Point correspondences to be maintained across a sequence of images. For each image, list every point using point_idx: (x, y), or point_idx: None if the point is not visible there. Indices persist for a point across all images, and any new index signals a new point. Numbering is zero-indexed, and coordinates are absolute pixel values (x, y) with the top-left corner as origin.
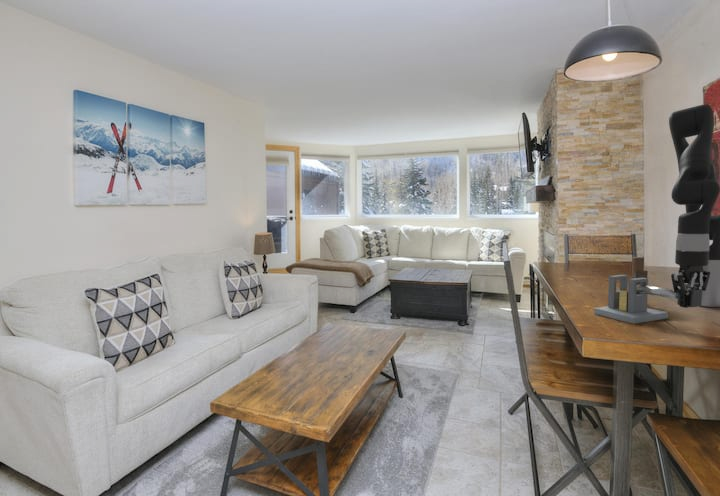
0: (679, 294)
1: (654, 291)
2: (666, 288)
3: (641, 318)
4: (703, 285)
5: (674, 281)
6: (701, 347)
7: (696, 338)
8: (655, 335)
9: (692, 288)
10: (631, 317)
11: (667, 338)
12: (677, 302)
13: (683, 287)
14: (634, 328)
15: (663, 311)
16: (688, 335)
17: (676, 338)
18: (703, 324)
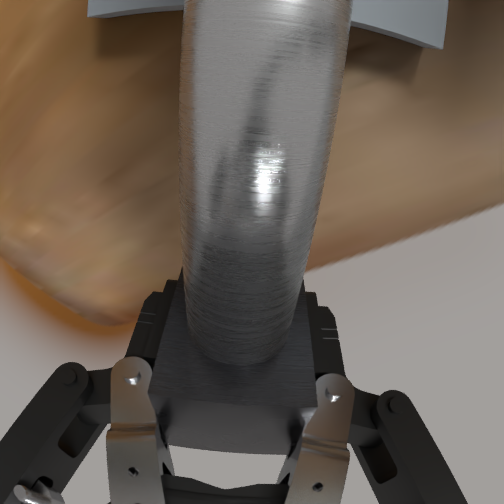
0: (163, 344)
1: (183, 29)
2: (258, 197)
3: (164, 8)
4: (362, 462)
5: (9, 454)
6: (84, 313)
7: (149, 277)
8: (43, 193)
9: (257, 436)
10: (88, 4)
11: (55, 232)
12: (181, 272)
13: (73, 443)
14: (43, 86)
15: (441, 25)
16: (158, 248)
17: (83, 246)
18: (419, 203)
